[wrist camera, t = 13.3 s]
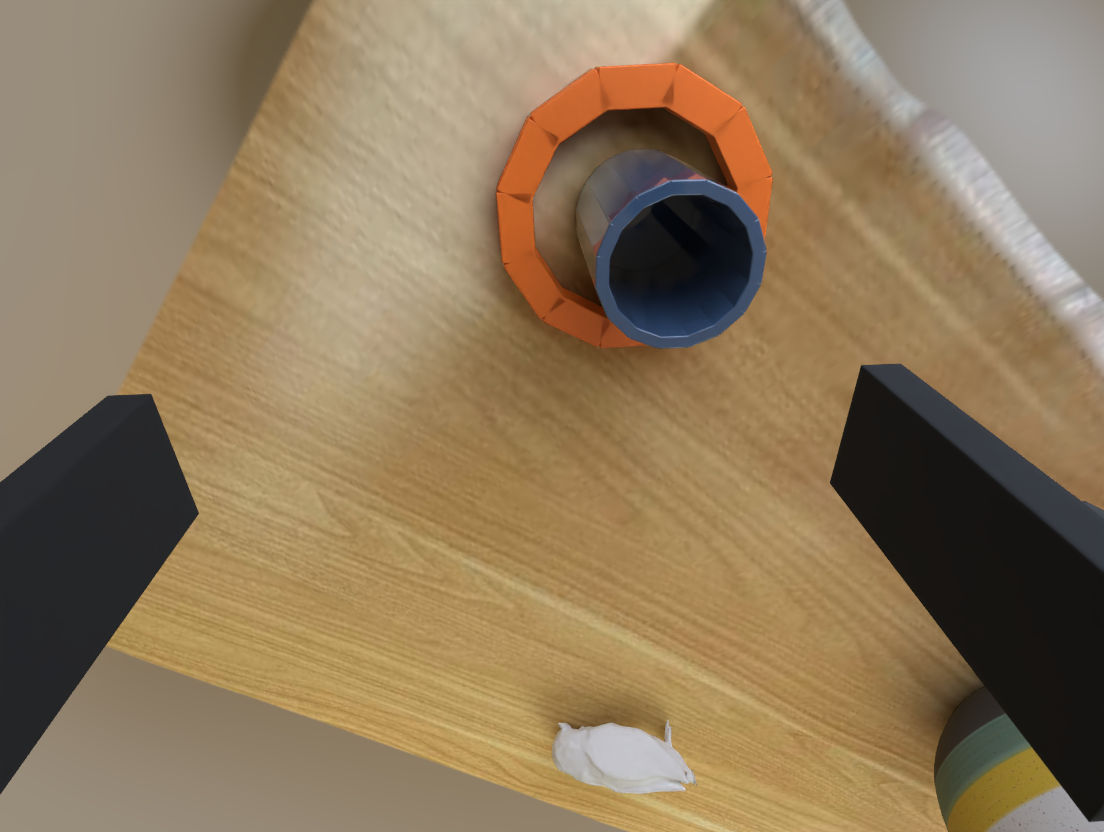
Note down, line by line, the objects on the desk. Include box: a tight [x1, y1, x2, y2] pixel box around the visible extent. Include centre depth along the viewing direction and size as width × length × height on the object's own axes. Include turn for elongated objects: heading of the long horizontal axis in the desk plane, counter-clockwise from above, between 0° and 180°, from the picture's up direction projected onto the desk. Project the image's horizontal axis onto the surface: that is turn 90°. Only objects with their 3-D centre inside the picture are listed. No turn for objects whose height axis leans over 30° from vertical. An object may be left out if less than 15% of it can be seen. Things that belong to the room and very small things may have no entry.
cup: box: [576, 148, 766, 349], centre depth 25 cm, size 6×6×9 cm
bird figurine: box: [552, 719, 697, 794], centre depth 47 cm, size 5×7×10 cm
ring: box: [496, 63, 773, 348], centre depth 28 cm, size 12×12×2 cm
